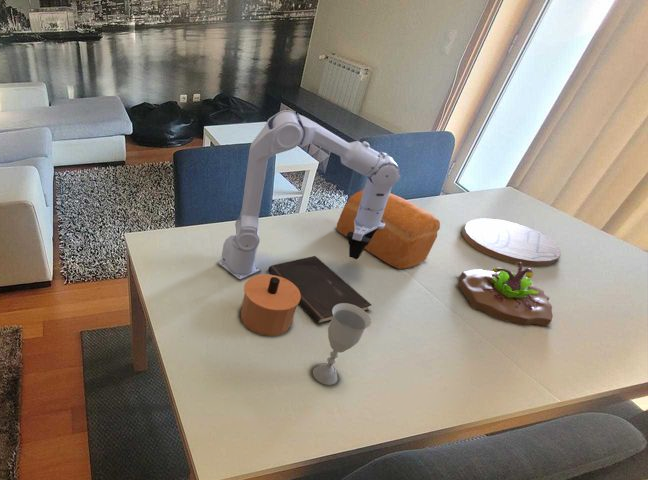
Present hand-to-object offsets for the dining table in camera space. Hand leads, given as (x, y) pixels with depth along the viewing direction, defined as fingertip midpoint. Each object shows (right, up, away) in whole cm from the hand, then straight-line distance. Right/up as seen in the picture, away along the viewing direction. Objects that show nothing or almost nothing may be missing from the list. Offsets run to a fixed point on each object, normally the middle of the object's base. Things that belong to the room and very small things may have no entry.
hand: (358, 250), depth 108 cm
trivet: (+59, +4, +21) cm, 63 cm away
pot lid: (-27, -11, -11) cm, 31 cm away
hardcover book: (-11, -11, +2) cm, 16 cm away
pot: (-27, -18, -6) cm, 33 cm away
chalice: (-18, -29, -20) cm, 40 cm away
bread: (+17, +3, +20) cm, 26 cm away
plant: (+38, -13, 0) cm, 41 cm away
